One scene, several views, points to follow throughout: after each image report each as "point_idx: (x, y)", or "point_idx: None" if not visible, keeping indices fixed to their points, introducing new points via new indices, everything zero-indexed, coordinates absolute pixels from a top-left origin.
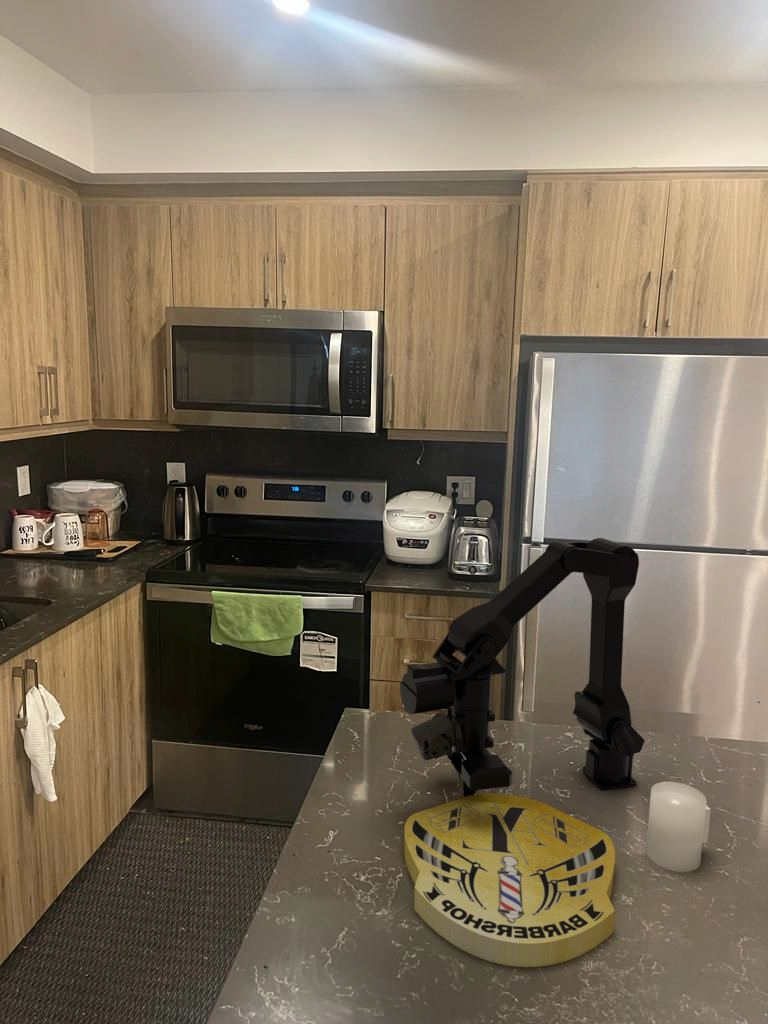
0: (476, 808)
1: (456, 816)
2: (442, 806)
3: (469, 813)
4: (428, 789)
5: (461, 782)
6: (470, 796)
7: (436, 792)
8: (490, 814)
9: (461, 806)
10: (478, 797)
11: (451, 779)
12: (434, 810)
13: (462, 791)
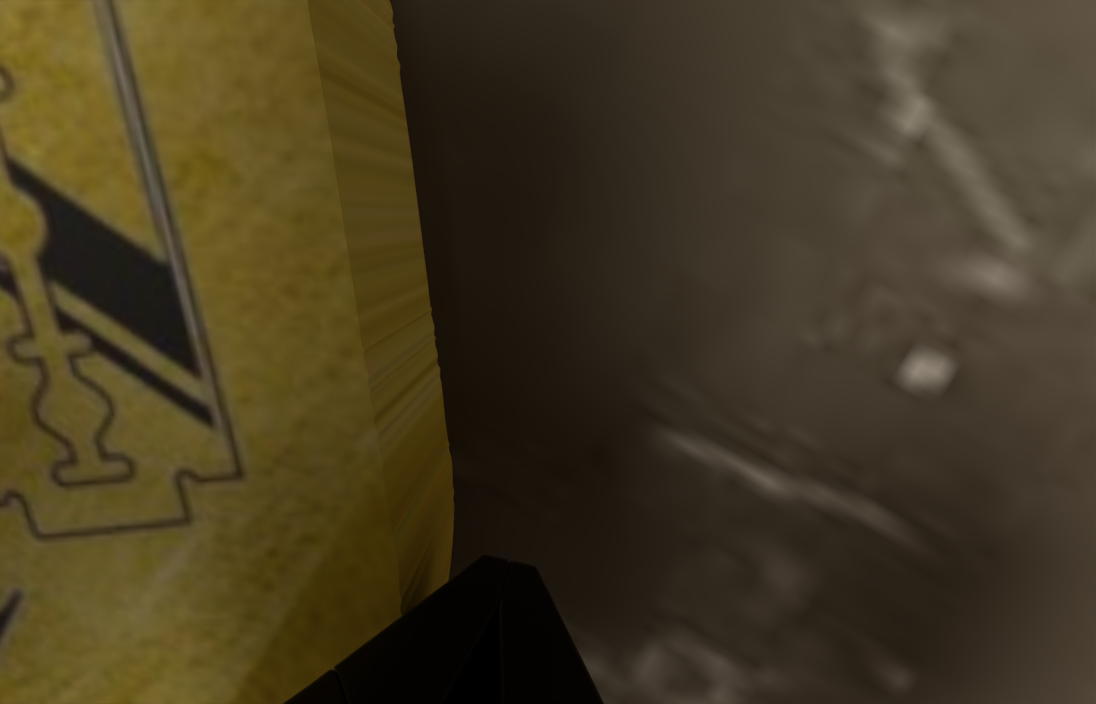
0: (143, 564)
1: (39, 266)
2: (293, 213)
3: (66, 442)
4: (979, 398)
5: (408, 689)
6: None
7: (888, 441)
8: (5, 628)
9: (224, 435)
10: None
11: (1003, 671)
12: (242, 57)
13: (459, 606)
